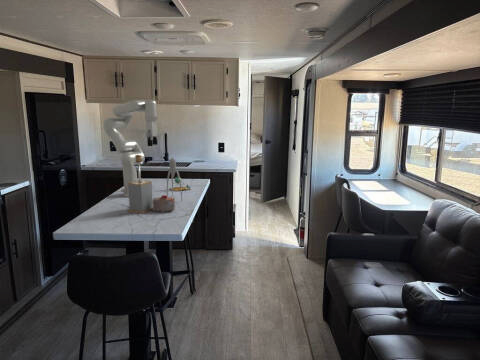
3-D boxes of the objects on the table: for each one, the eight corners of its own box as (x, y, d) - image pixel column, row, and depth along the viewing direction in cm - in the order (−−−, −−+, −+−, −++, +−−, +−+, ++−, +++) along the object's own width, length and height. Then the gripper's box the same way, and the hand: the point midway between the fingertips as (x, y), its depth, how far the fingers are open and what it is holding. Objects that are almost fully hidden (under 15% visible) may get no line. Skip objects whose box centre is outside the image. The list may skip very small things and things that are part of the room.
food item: (175, 208, 230) (175, 193, 228) (175, 212, 222) (174, 196, 220) (154, 209, 228) (153, 194, 226) (152, 212, 220) (151, 197, 218)
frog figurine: (188, 192, 274) (186, 173, 272) (166, 193, 278) (164, 174, 275) (192, 189, 284) (190, 170, 281) (171, 190, 287) (168, 172, 284)
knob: (131, 195, 222) (128, 155, 217) (139, 192, 229) (137, 153, 224) (141, 196, 219) (139, 156, 214) (149, 193, 226) (147, 154, 221)
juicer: (179, 203, 242) (177, 159, 236) (166, 202, 244) (165, 158, 238) (184, 199, 252) (183, 156, 246) (172, 198, 254) (171, 156, 248)
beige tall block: (127, 211, 223) (125, 183, 219) (140, 206, 234) (138, 179, 230) (143, 213, 218) (141, 184, 215) (155, 208, 229) (153, 181, 225)
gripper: (150, 119, 247) (151, 144, 250) (140, 120, 230) (142, 146, 233) (160, 119, 246) (162, 144, 249) (152, 119, 229) (153, 146, 232)
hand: (152, 145), depth 241 cm, fingers open, 9 cm apart
